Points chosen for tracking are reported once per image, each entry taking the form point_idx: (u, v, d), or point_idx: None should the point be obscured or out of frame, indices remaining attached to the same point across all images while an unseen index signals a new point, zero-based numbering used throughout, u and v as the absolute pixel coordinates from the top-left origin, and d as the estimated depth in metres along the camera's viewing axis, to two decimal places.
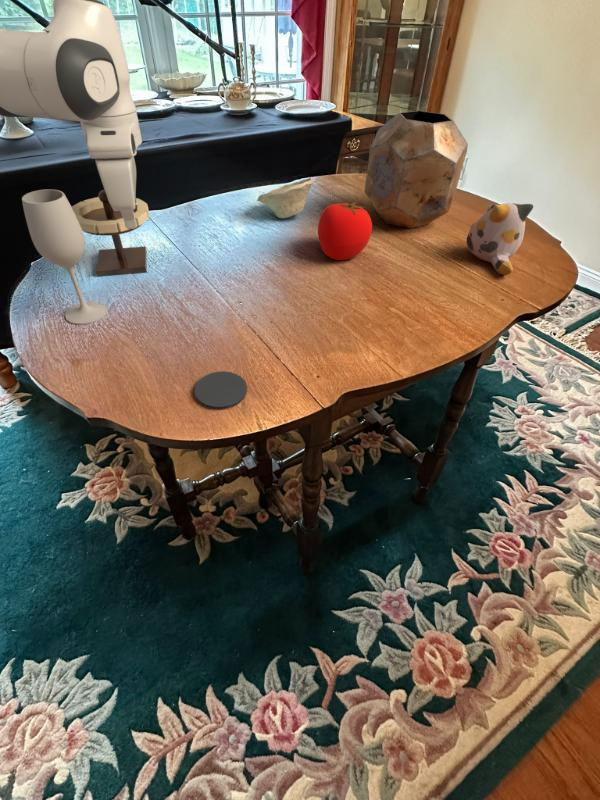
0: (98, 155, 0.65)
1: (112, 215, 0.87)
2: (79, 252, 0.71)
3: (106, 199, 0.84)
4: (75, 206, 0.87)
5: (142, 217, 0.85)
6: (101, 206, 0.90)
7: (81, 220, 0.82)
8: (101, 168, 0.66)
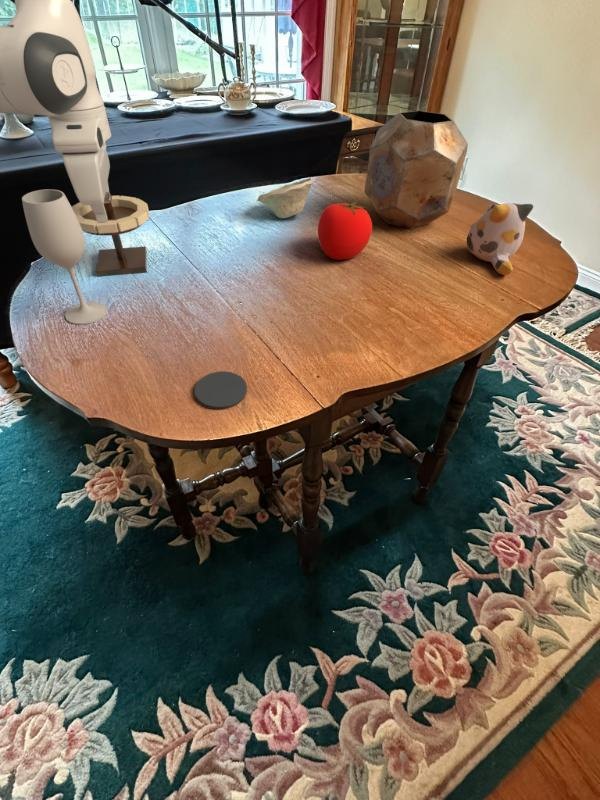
0: (64, 149, 0.65)
1: (112, 215, 0.87)
2: (79, 252, 0.71)
3: None
4: (75, 206, 0.87)
5: (142, 217, 0.85)
6: None
7: (81, 220, 0.82)
8: (67, 162, 0.66)
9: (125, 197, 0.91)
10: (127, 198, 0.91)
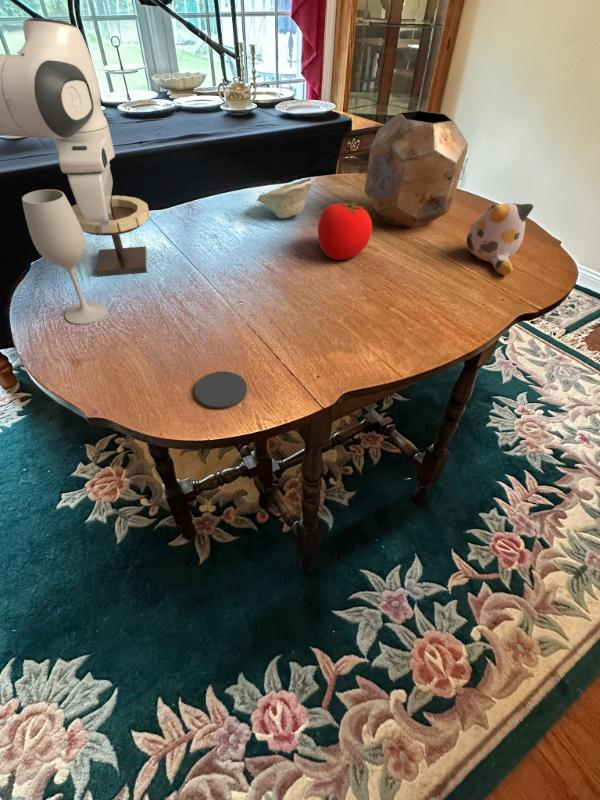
0: (69, 170, 0.67)
1: (112, 215, 0.87)
2: (79, 252, 0.71)
3: None
4: (75, 206, 0.87)
5: (142, 217, 0.85)
6: None
7: (81, 220, 0.82)
8: (72, 182, 0.68)
9: (125, 197, 0.91)
10: (127, 198, 0.91)
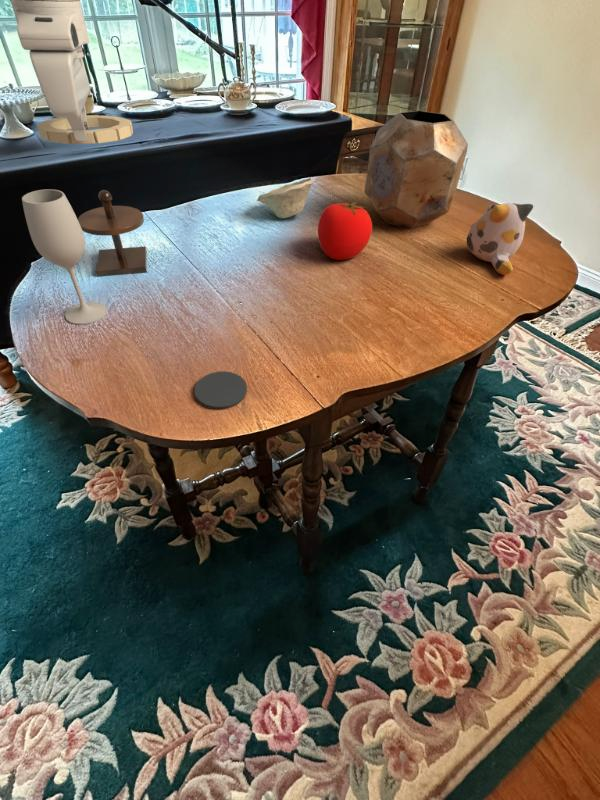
0: (31, 44, 0.56)
1: (112, 215, 0.87)
2: (79, 252, 0.71)
3: (106, 199, 0.84)
4: (47, 121, 0.76)
5: (124, 130, 0.74)
6: None
7: (52, 130, 0.71)
8: (35, 61, 0.57)
9: (106, 116, 0.80)
10: (108, 117, 0.80)
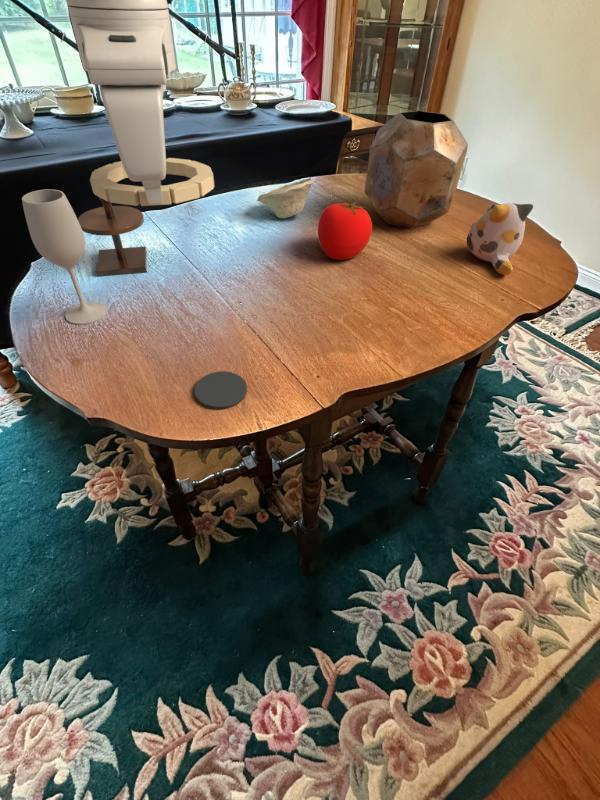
0: (105, 77, 0.36)
1: (112, 215, 0.87)
2: (79, 252, 0.71)
3: None
4: (100, 169, 0.56)
5: (207, 183, 0.54)
6: None
7: (112, 186, 0.51)
8: (109, 102, 0.37)
9: (175, 159, 0.60)
10: (178, 160, 0.60)
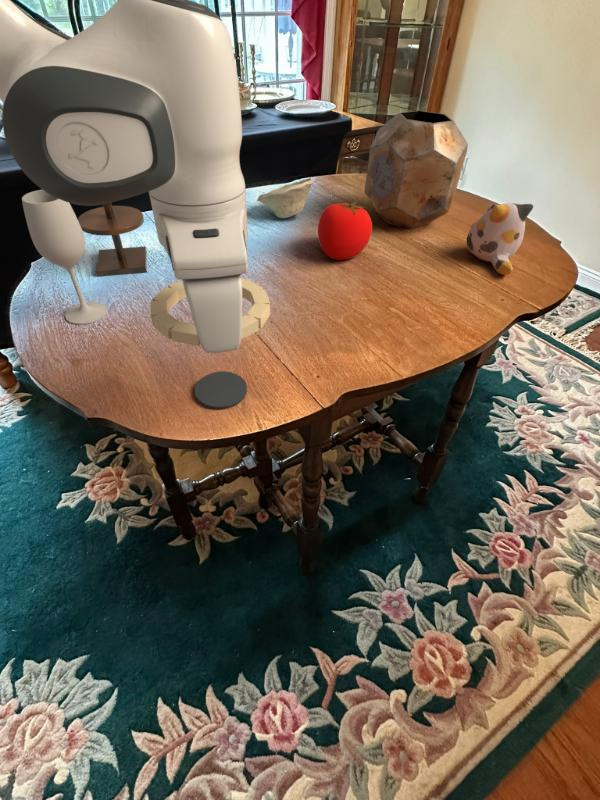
0: (190, 275, 0.37)
1: (112, 215, 0.87)
2: (79, 252, 0.71)
3: None
4: (158, 297, 0.56)
5: (265, 314, 0.55)
6: None
7: (174, 325, 0.52)
8: (193, 295, 0.37)
9: None
10: None
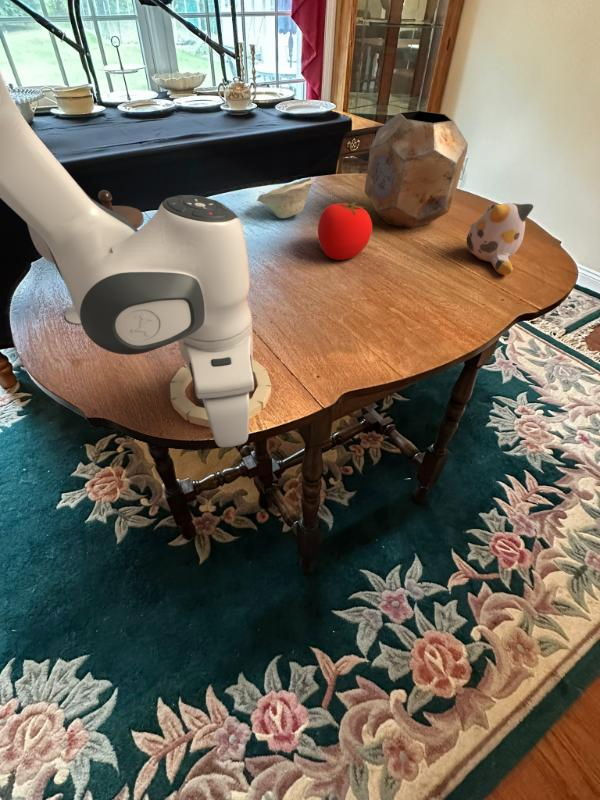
0: (209, 396, 0.47)
1: None
2: None
3: (106, 199, 0.84)
4: (176, 378, 0.66)
5: (267, 397, 0.65)
6: None
7: (191, 410, 0.62)
8: (211, 410, 0.48)
9: None
10: None
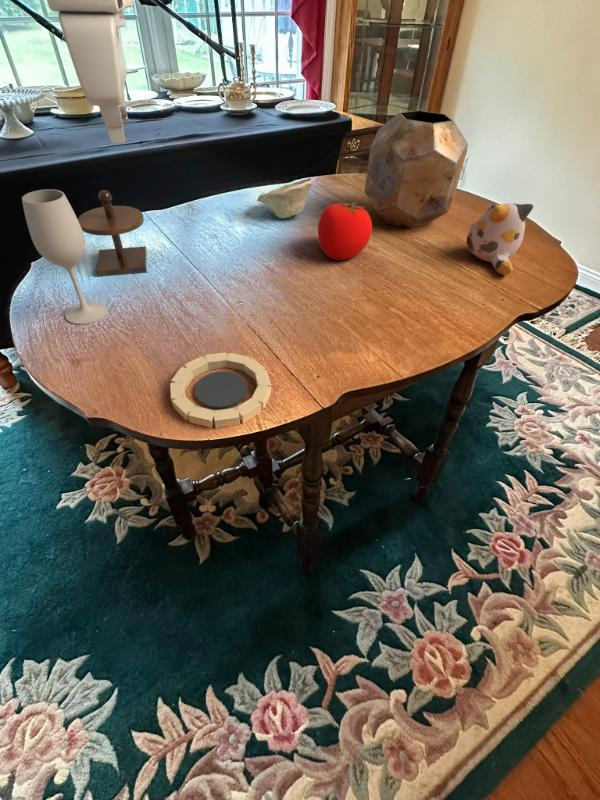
0: (61, 3, 0.41)
1: (112, 215, 0.87)
2: (79, 252, 0.71)
3: (106, 199, 0.84)
4: (176, 378, 0.66)
5: (267, 397, 0.65)
6: (205, 369, 0.70)
7: (191, 410, 0.62)
8: (66, 26, 0.41)
9: (235, 356, 0.71)
10: (238, 358, 0.70)
